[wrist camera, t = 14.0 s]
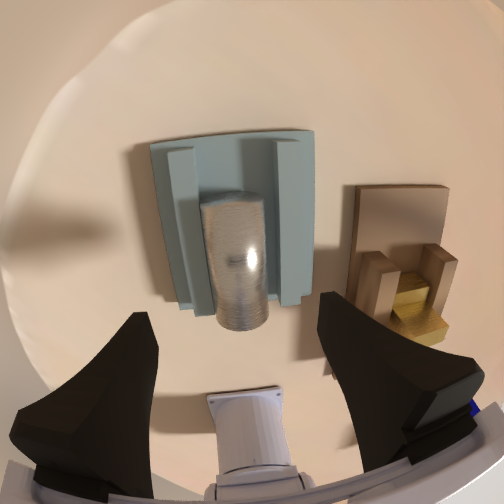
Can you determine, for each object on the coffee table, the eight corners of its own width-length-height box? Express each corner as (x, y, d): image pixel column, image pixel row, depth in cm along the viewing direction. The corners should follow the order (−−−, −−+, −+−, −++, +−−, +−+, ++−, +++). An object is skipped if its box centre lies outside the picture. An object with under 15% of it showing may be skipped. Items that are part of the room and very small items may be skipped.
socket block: (401, 356, 29) (416, 379, 26) (331, 374, 28) (343, 402, 25) (443, 185, 20) (475, 200, 17) (355, 186, 19) (384, 203, 16)
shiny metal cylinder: (271, 299, 21) (264, 333, 18) (223, 296, 22) (209, 328, 18) (268, 190, 17) (258, 209, 14) (211, 191, 18) (189, 210, 15)
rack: (307, 287, 23) (317, 307, 20) (181, 302, 22) (178, 323, 20) (309, 130, 17) (323, 132, 15) (153, 143, 17) (143, 147, 14)
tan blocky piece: (407, 300, 24) (442, 341, 18) (375, 307, 24) (408, 353, 18) (414, 272, 22) (454, 311, 17) (381, 278, 22) (420, 322, 17)
